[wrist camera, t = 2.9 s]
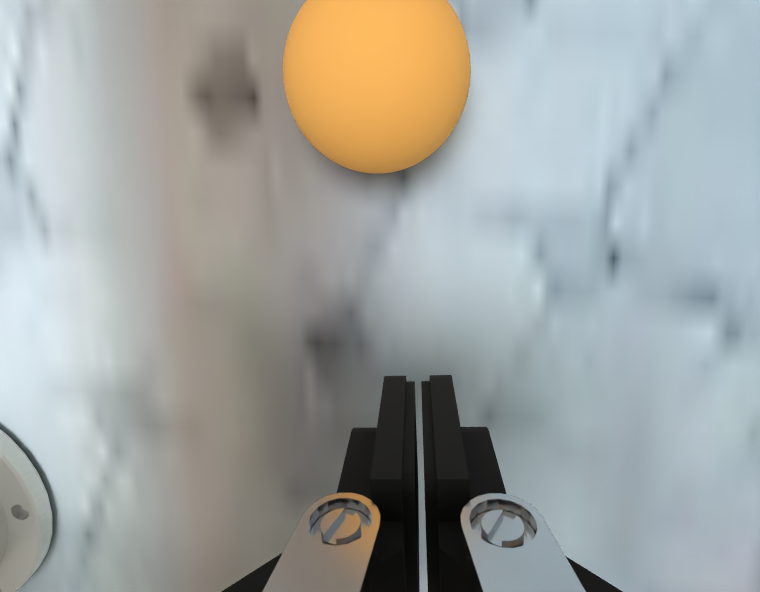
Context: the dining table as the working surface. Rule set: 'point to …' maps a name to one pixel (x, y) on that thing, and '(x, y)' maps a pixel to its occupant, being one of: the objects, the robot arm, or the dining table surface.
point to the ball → (376, 79)
